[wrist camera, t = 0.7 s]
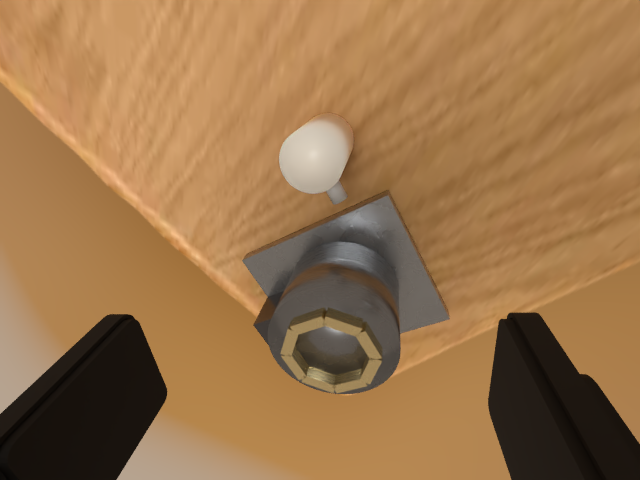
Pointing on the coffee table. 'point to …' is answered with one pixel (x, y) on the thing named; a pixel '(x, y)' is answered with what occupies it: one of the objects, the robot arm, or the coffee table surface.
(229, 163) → the coffee table surface
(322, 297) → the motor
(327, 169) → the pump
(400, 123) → the coffee table surface
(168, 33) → the coffee table surface
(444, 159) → the coffee table surface
